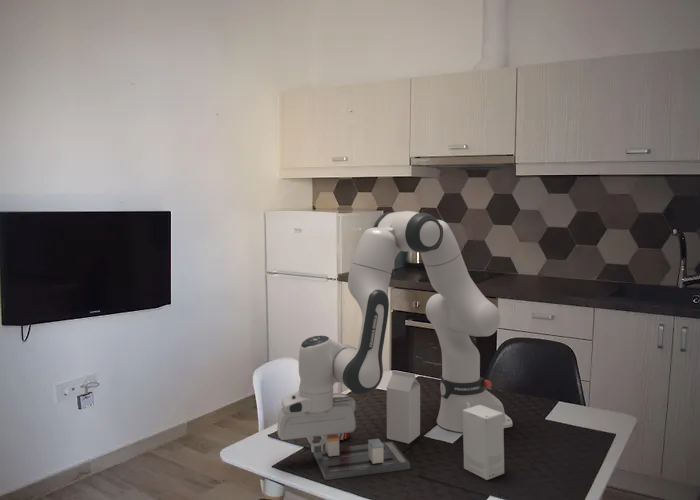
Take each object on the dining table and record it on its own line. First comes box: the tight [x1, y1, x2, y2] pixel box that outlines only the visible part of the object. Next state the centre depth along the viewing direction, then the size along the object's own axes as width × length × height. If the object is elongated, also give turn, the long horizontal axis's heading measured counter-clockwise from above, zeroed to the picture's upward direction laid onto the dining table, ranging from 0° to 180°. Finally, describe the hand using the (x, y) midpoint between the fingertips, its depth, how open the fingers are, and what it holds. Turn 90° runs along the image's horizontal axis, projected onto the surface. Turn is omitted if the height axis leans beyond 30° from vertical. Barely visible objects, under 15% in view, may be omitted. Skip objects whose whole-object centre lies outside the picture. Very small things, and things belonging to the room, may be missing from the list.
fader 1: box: [324, 434, 340, 456], centre depth 154 cm, size 3×4×4 cm
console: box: [313, 440, 411, 481], centre depth 152 cm, size 22×14×2 cm, turn 104°
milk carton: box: [386, 369, 421, 444], centre depth 167 cm, size 7×7×19 cm
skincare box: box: [462, 405, 505, 481], centre depth 146 cm, size 8×7×16 cm
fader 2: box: [367, 438, 384, 464], centre depth 149 cm, size 3×4×4 cm
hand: (317, 451), depth 153 cm, fingers closed
